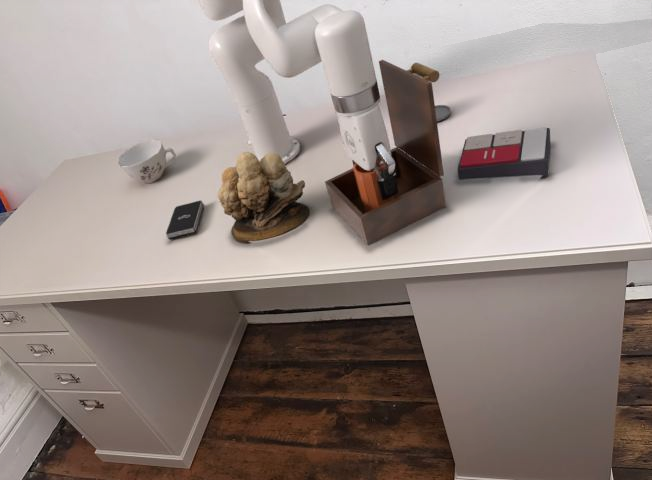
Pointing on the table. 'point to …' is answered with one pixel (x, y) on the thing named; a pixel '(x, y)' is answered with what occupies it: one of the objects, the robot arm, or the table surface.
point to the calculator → (506, 154)
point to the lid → (413, 112)
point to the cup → (369, 187)
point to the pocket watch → (442, 112)
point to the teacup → (146, 161)
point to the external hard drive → (185, 220)
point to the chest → (409, 207)
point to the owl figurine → (261, 198)
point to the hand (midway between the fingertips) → (377, 185)
